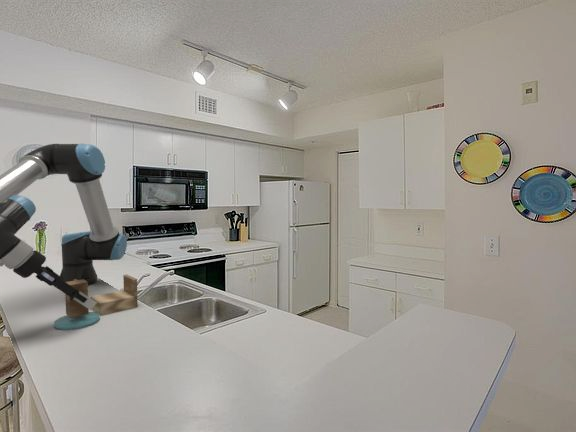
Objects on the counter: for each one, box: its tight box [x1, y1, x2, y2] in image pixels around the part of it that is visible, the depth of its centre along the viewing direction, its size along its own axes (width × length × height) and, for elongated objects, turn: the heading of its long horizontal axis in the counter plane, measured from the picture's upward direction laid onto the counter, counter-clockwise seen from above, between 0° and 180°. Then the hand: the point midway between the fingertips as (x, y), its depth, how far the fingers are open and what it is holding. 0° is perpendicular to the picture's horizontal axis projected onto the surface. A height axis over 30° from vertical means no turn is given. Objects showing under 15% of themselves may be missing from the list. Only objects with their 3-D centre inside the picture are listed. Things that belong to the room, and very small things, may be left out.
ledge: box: [89, 274, 139, 316], centre depth 117 cm, size 12×11×10 cm
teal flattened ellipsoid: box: [53, 311, 101, 331], centre depth 103 cm, size 12×12×1 cm
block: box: [64, 279, 90, 318], centre depth 103 cm, size 5×5×10 cm
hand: (90, 303), depth 106 cm, fingers closed on block, 5 cm apart
